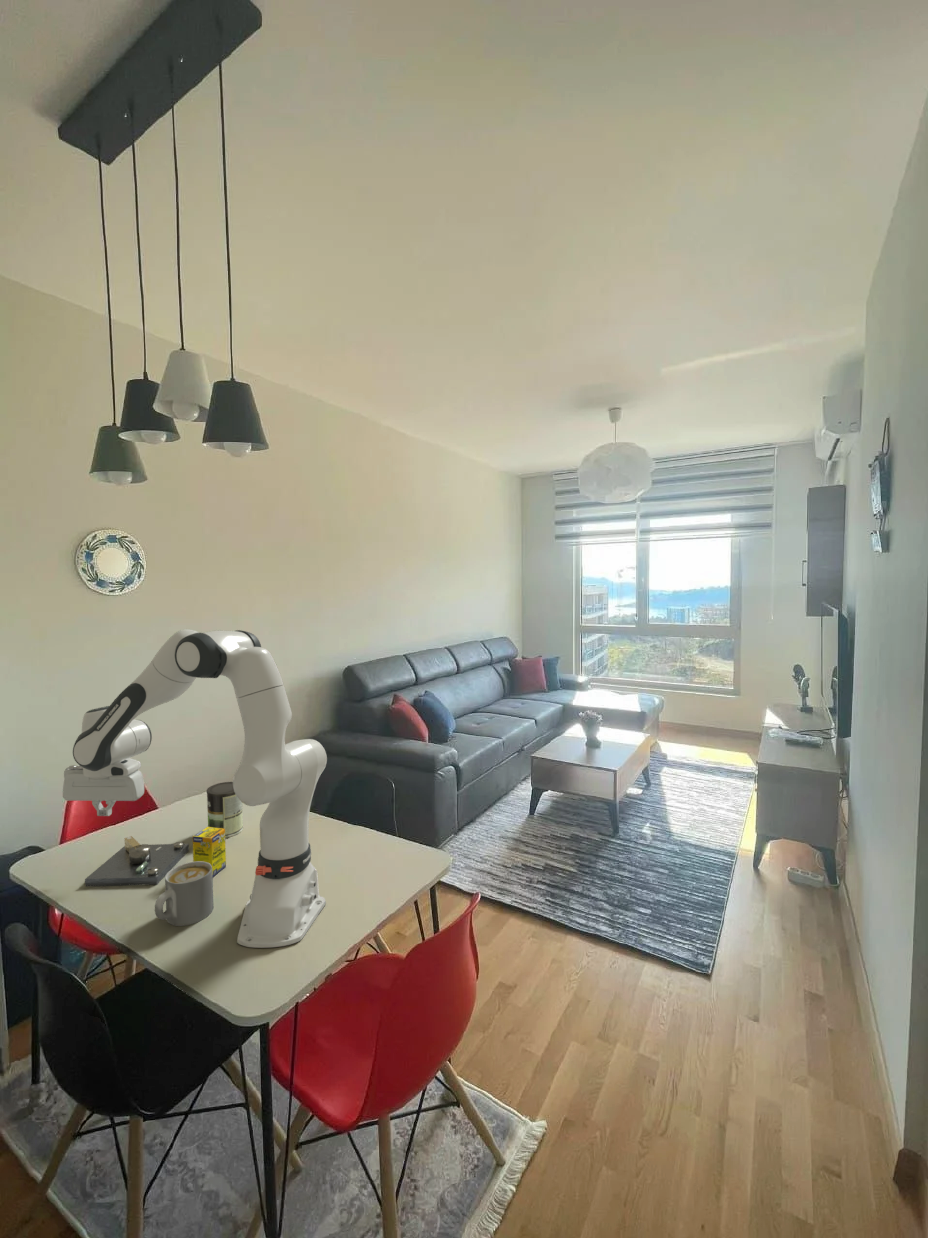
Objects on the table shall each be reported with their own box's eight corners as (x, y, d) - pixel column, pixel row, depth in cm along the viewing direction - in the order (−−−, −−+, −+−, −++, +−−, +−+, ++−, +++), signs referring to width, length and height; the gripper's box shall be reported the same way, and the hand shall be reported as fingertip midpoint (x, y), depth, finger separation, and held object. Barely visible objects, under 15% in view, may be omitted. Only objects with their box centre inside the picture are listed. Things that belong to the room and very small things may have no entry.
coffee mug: (199, 896, 135) (198, 857, 134) (221, 909, 129) (220, 869, 128) (142, 923, 124) (141, 881, 123) (164, 939, 118) (162, 895, 118)
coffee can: (205, 841, 164) (203, 795, 163) (210, 826, 173) (209, 783, 172) (242, 836, 167) (240, 791, 166) (244, 822, 176) (243, 780, 176)
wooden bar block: (153, 858, 148) (152, 848, 148) (133, 866, 145) (132, 854, 144) (138, 844, 157) (137, 833, 157) (118, 850, 153) (118, 839, 153)
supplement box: (212, 878, 143) (211, 838, 142) (192, 876, 144) (191, 836, 143) (226, 866, 149) (225, 828, 148) (207, 864, 150) (206, 826, 149)
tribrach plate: (157, 884, 140) (156, 872, 140) (85, 886, 139) (84, 874, 139) (189, 850, 158) (188, 839, 158) (125, 852, 157) (125, 841, 157)
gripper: (55, 769, 143) (57, 820, 144) (133, 770, 143) (134, 820, 144) (72, 761, 149) (74, 810, 150) (146, 762, 150) (148, 810, 151)
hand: (104, 815), depth 147 cm, fingers closed
